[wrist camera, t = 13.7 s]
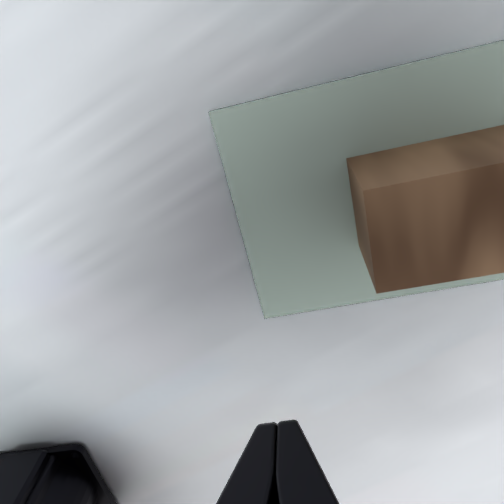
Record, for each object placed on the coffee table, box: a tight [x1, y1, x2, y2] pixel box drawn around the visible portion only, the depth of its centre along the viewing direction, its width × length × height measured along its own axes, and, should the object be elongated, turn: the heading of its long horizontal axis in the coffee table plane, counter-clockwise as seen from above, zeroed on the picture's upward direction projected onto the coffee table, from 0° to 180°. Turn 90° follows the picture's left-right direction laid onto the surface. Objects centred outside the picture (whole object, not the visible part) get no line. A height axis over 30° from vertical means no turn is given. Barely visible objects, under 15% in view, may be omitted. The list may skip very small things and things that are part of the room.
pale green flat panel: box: [209, 40, 504, 319], centre depth 19 cm, size 10×14×1 cm
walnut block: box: [346, 125, 504, 294], centre depth 16 cm, size 4×4×7 cm
